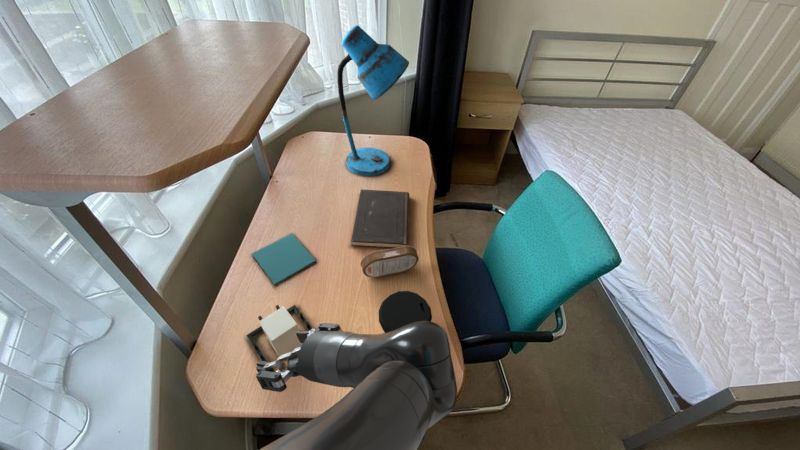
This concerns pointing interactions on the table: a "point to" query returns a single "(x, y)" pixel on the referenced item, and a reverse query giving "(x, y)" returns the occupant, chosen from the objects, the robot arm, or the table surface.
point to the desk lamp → (369, 90)
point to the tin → (389, 261)
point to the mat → (283, 258)
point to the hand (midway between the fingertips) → (280, 351)
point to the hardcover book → (381, 219)
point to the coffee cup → (403, 310)
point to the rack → (258, 330)
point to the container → (281, 331)
